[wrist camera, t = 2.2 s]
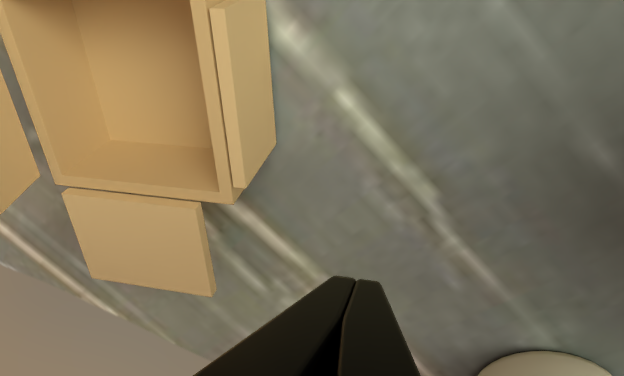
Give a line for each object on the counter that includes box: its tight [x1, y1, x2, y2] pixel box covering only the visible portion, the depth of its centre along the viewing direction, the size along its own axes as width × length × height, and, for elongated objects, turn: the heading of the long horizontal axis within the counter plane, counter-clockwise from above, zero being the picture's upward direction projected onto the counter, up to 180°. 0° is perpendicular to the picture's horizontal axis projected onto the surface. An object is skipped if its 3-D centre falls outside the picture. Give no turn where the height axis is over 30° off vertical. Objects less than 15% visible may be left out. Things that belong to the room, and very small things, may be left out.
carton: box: [0, 0, 276, 297], centre depth 19 cm, size 9×17×4 cm, turn 2°
